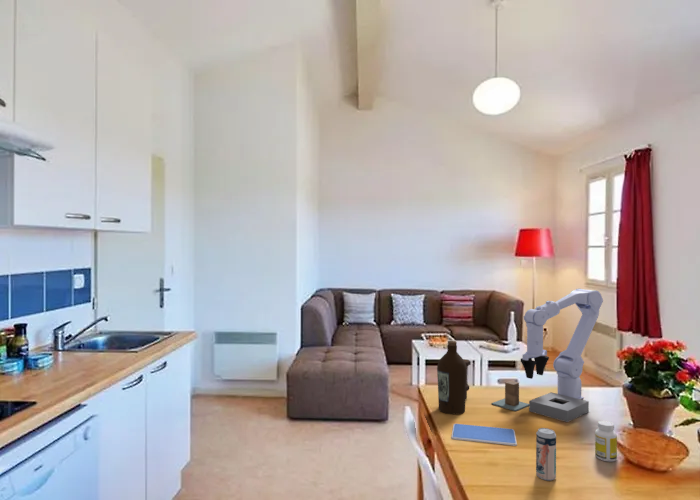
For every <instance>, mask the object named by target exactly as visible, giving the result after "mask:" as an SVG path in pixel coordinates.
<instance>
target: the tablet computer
mask: <svg viewBox="0 0 700 500" xmlns="http://www.w3.org/2000/svg"><path fill="white" fill-rule="evenodd" d="M450 436H451V437H450V438H451V440H456V441H468V442H477V443H485V444H494V445H495V444H497V445H505V446H512V447H513V446H514V447H515V446H518V443H517V437H516V432H515V430H514V429H513V428H505V427H503V428H502V427H496V426H495V427H494V426H483V425H472V424H465V423H463V424H462V423H453V426H452V431H451V435H450Z"/></svg>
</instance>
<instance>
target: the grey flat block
mask: <svg viewBox="0 0 700 500" xmlns="http://www.w3.org/2000/svg"><path fill="white" fill-rule="evenodd" d="M589 402H590V401H588V400H584V399H577V398H573V397H569V396H565V395H560V394H558V393H556V392H551V391H550V392H549V393H545V394H542V395H541V396H539V397H536V398H533V399H530V400H529V401H528V404H529V406H528V407H529V408H528V409H529V412H531V413H535V414H537V415H541V416H544V417H548V418H552V419H555V420H559V421H562V422H565V423H569V422H571V421H573V420H575V419H577V418H579V417H582V416H583V415H585V414H587V413H590V411H589V410H590V409H589V407H590V404H589Z"/></svg>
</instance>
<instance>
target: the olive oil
mask: <svg viewBox="0 0 700 500" xmlns="http://www.w3.org/2000/svg"><path fill="white" fill-rule="evenodd" d="M446 346H447V348H446V349H447V351H446V352H445V353H444V355H442V357H441V358H440V359H439V360H438V363H437V367H436V372H437V373H436V374H437V376H436V377H437V391H438V392H437V394H438V395H437V397H438V400H437V401H438V410H439V411H440V412H441V413H444V414H448V415H461V414H463V413H465V412H466V399H465V397H466V379H467V380H468V366H466V363H465V361H464V360H463V359H464V358H463V357H462V356H461V355H460V354H459V352H458V345H457V341H456V340H448V341H447V345H446Z"/></svg>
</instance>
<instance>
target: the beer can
mask: <svg viewBox="0 0 700 500" xmlns="http://www.w3.org/2000/svg"><path fill="white" fill-rule="evenodd" d="M535 433H536V434H535V435H536V436H535V438H536V439H535V443H536V444H535V445H536V447H535V454H536V455H535V458H536V459H535V474H536V476H537V477H538V478H539V479H541V480H543V481H547V482H548V481H553V480H556V478H557V434H556V432H555V430H553V429H552V428H548V427H541V428H538V429H537V431H536V432H535Z"/></svg>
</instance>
